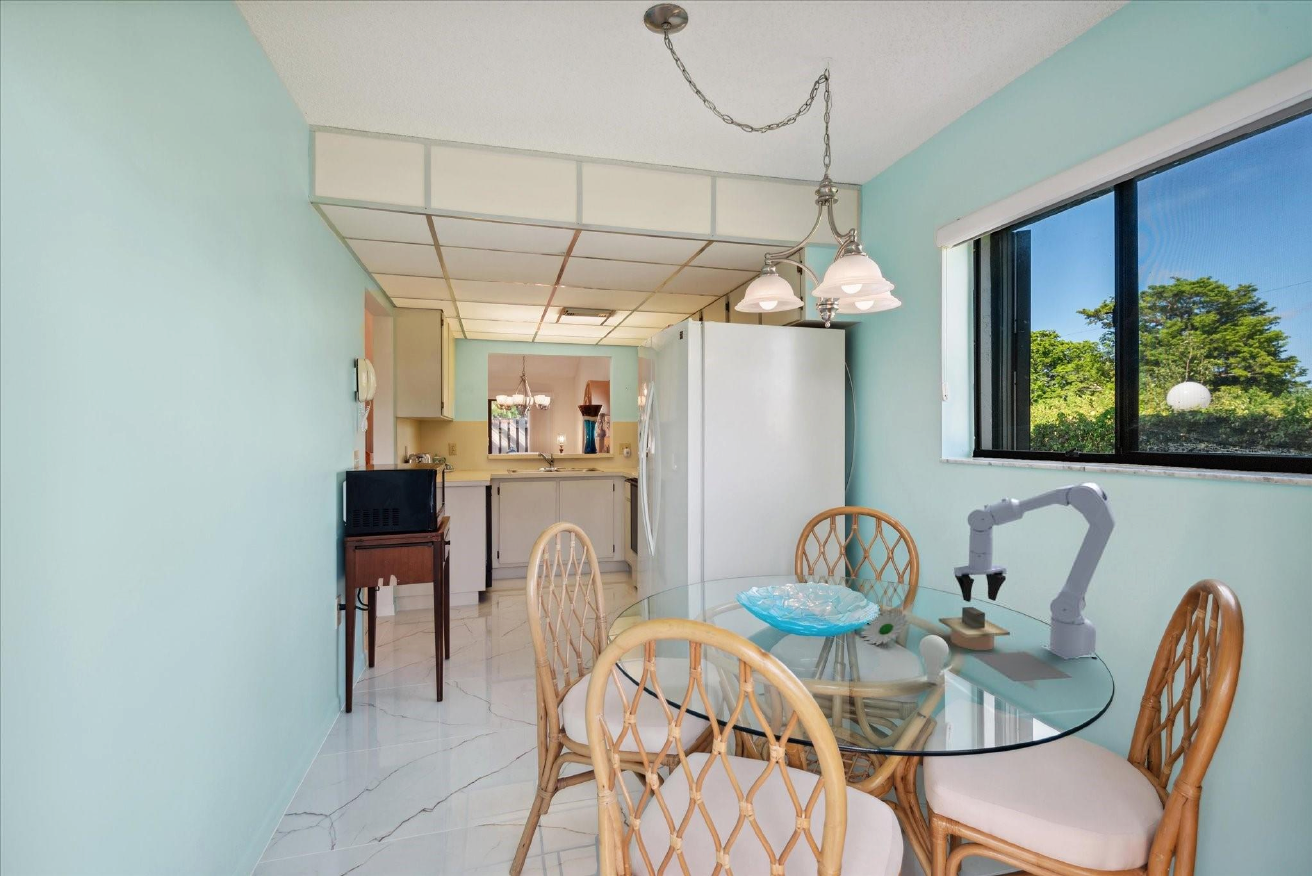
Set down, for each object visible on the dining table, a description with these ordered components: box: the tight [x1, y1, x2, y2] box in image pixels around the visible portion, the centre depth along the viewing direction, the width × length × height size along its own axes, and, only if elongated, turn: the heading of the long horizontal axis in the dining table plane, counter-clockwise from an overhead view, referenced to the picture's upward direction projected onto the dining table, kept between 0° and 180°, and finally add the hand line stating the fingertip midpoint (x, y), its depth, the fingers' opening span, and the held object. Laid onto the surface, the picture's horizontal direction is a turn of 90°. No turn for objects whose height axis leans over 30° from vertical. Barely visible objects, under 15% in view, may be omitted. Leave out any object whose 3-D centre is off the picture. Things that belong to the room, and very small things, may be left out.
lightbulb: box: [918, 634, 950, 685], centre depth 139 cm, size 6×6×11 cm
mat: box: [971, 651, 1073, 682], centre depth 148 cm, size 15×15×1 cm
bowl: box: [950, 628, 995, 651], centre depth 163 cm, size 10×10×4 cm
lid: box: [938, 606, 1011, 638], centre depth 162 cm, size 12×12×5 cm
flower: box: [860, 608, 907, 646], centre depth 174 cm, size 13×6×30 cm
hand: (979, 600), depth 170 cm, fingers open, 7 cm apart
